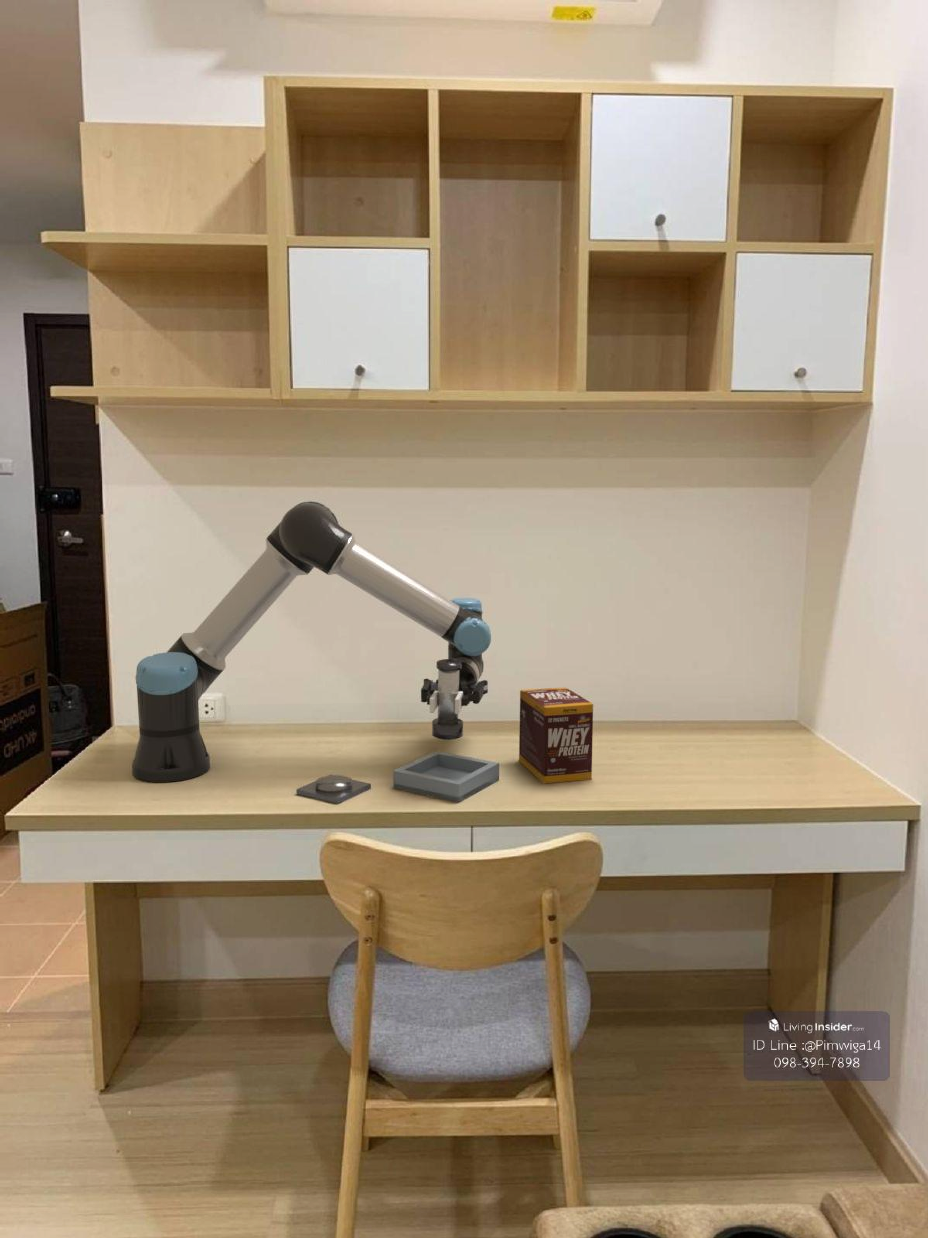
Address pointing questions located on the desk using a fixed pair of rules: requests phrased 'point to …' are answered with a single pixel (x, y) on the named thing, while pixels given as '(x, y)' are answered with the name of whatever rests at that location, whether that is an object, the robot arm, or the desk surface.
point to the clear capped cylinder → (447, 701)
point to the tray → (446, 776)
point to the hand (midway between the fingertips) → (444, 706)
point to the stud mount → (333, 788)
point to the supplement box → (556, 734)
